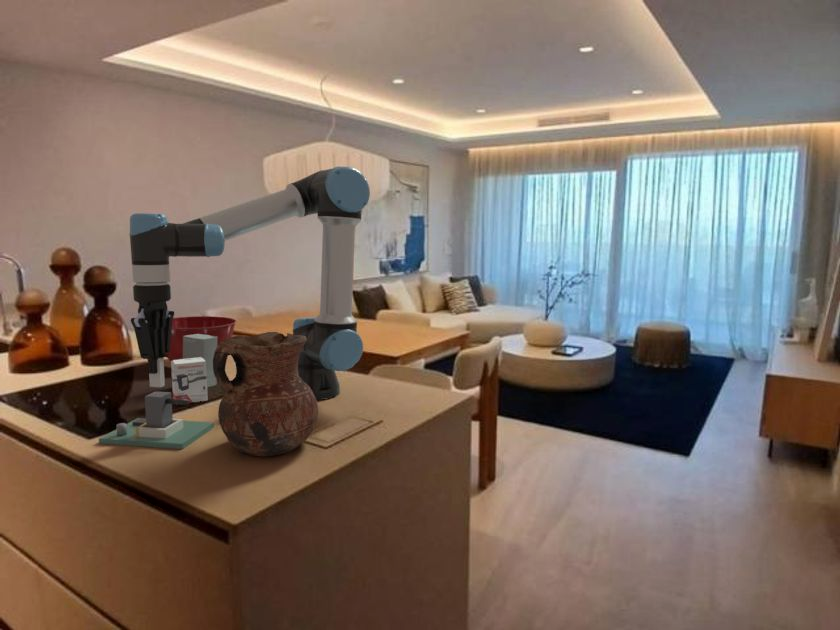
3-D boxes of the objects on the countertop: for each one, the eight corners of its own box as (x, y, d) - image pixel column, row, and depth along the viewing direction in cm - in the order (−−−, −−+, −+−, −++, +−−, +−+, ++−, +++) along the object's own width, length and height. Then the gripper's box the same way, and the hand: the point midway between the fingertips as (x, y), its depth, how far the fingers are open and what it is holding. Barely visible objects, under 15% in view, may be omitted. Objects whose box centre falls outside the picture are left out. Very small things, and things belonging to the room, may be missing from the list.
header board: (214, 427, 134) (213, 413, 133) (182, 449, 120) (181, 433, 120) (138, 422, 136) (137, 408, 136) (99, 443, 123) (97, 428, 122)
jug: (264, 423, 137) (261, 325, 133) (336, 436, 129) (335, 332, 125) (197, 455, 117) (191, 341, 113) (277, 473, 109) (274, 350, 105)
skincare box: (181, 386, 168) (179, 336, 166) (199, 381, 175) (196, 332, 172) (203, 390, 165) (201, 338, 163) (220, 384, 172) (218, 334, 169)
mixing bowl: (219, 351, 219) (217, 313, 217) (250, 364, 199) (249, 322, 196) (143, 361, 200) (140, 319, 198) (169, 376, 180) (167, 330, 177)
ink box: (175, 405, 150) (173, 363, 149) (172, 400, 154) (170, 360, 153) (208, 400, 155) (206, 360, 153) (204, 396, 159) (202, 356, 157)
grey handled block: (195, 430, 128) (193, 393, 127) (186, 436, 124) (184, 398, 123) (155, 428, 129) (152, 391, 128) (144, 434, 125) (142, 396, 124)
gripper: (153, 280, 129) (158, 378, 132) (116, 285, 116) (123, 393, 119) (183, 281, 128) (188, 379, 131) (149, 286, 115) (155, 395, 118)
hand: (157, 386), depth 125 cm, fingers closed
